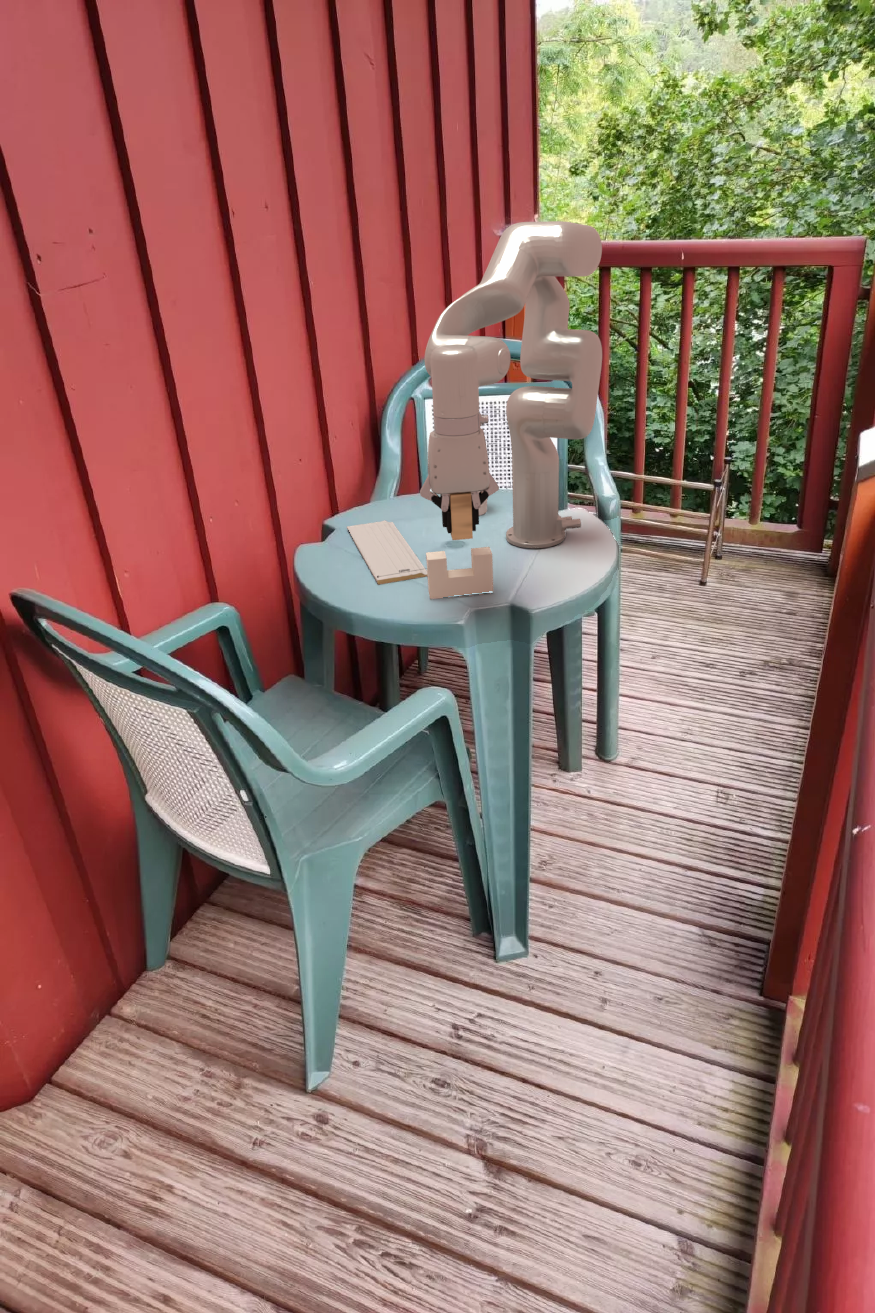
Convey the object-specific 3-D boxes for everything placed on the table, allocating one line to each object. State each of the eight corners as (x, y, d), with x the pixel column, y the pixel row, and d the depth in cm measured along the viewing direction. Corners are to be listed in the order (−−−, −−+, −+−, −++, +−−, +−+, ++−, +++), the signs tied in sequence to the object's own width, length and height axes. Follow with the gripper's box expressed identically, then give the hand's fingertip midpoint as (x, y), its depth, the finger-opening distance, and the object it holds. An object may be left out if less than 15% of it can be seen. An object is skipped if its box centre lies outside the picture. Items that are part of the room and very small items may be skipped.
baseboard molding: (398, 524, 205) (347, 532, 202) (397, 512, 203) (345, 520, 201) (436, 577, 179) (377, 587, 176) (435, 564, 177) (376, 574, 175)
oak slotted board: (441, 505, 171) (439, 464, 167) (459, 504, 171) (458, 463, 167) (452, 540, 155) (450, 495, 152) (472, 538, 156) (471, 494, 152)
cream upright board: (490, 585, 173) (489, 546, 169) (493, 593, 170) (492, 553, 166) (428, 591, 172) (425, 552, 168) (430, 599, 169) (427, 560, 165)
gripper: (502, 415, 152) (504, 518, 161) (405, 422, 151) (411, 526, 160) (510, 426, 145) (511, 533, 154) (408, 434, 144) (415, 541, 153)
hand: (460, 528), depth 157 cm, fingers closed on oak slotted board, 3 cm apart
